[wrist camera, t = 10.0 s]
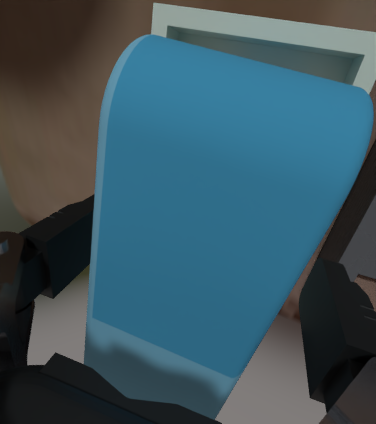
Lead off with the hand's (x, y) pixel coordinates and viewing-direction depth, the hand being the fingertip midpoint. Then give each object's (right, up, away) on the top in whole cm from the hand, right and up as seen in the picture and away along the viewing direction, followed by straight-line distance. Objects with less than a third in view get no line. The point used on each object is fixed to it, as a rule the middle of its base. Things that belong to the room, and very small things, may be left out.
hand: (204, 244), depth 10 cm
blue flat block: (+2, +4, +7) cm, 8 cm away
